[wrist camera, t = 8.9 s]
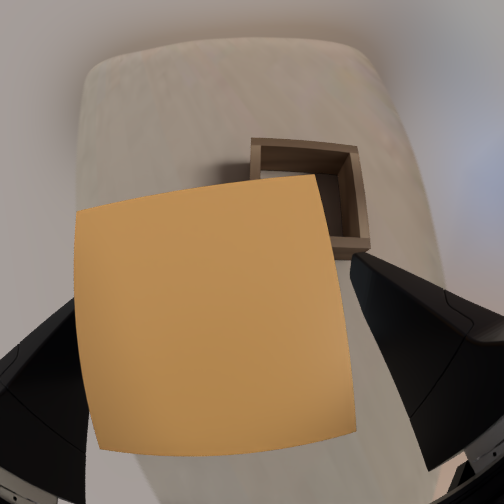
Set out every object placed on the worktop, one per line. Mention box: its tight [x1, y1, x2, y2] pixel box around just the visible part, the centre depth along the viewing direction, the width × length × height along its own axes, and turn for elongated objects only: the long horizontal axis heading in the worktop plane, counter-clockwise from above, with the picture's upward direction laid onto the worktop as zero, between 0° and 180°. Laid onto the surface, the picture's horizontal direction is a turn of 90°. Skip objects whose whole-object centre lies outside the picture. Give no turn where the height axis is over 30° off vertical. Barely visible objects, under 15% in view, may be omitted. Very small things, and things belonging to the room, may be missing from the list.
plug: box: [74, 174, 356, 456], centre depth 10 cm, size 4×4×13 cm
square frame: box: [250, 138, 371, 260], centre depth 17 cm, size 7×7×3 cm
